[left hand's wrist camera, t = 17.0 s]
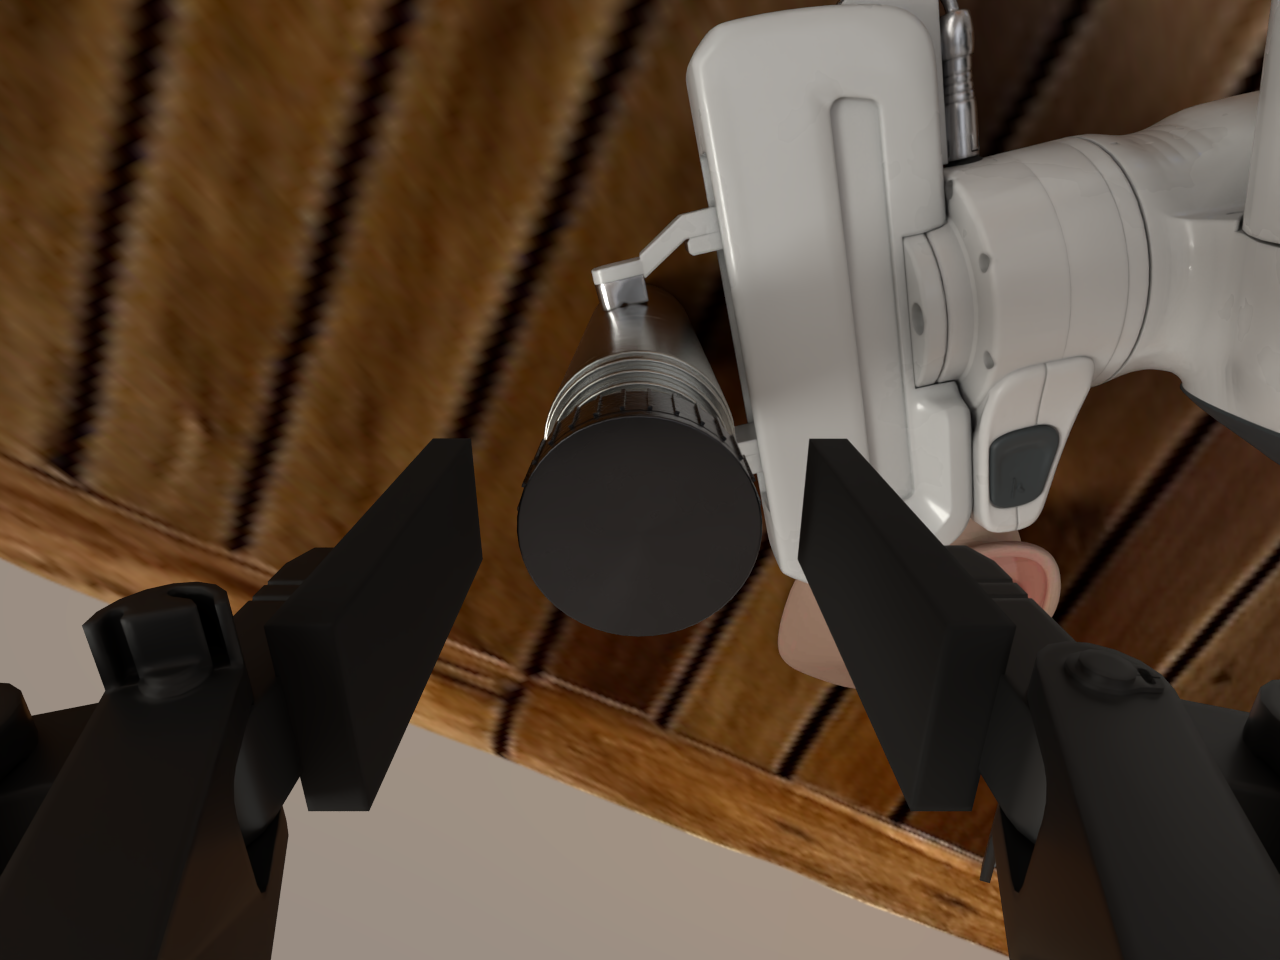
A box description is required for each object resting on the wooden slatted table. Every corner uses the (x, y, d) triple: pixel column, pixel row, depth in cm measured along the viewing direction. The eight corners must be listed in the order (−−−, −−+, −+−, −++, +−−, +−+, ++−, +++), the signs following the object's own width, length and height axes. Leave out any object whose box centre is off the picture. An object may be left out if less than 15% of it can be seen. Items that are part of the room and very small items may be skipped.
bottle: (567, 340, 32) (461, 528, 13) (636, 260, 31) (630, 341, 12) (642, 407, 33) (646, 668, 14) (712, 333, 32) (819, 514, 13)
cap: (693, 619, 15) (700, 670, 14) (498, 547, 15) (480, 590, 13) (789, 440, 14) (810, 472, 12) (576, 349, 13) (566, 370, 11)
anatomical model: (791, 744, 36) (793, 551, 31) (777, 694, 39) (776, 515, 35) (1047, 729, 35) (1084, 531, 31) (1008, 679, 39) (1036, 496, 35)
